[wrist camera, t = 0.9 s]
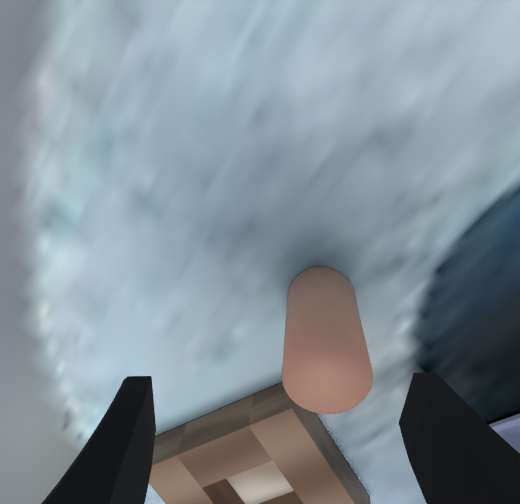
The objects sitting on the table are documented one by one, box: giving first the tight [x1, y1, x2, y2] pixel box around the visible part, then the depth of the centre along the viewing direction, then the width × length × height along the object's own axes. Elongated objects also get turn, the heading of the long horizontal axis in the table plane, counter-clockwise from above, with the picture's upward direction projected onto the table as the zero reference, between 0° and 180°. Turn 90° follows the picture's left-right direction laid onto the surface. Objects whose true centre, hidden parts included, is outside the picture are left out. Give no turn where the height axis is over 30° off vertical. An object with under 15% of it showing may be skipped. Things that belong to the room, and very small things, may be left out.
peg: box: [282, 267, 373, 414], centre depth 24 cm, size 4×4×8 cm
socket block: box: [149, 382, 371, 504], centre depth 32 cm, size 11×11×3 cm
